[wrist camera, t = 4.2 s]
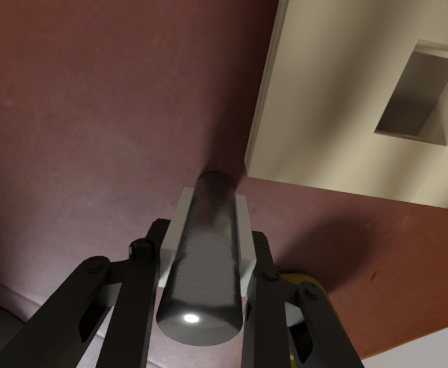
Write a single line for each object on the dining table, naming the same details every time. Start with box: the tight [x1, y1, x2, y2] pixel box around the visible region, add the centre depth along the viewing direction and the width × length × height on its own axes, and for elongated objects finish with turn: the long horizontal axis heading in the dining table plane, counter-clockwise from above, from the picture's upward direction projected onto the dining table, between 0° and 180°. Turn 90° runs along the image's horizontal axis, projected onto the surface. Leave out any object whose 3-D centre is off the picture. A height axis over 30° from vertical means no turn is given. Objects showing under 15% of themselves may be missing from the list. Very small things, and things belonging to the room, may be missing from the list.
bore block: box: [244, 0, 448, 208], centre depth 14 cm, size 20×14×4 cm
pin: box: [156, 171, 243, 346], centre depth 14 cm, size 4×4×12 cm
